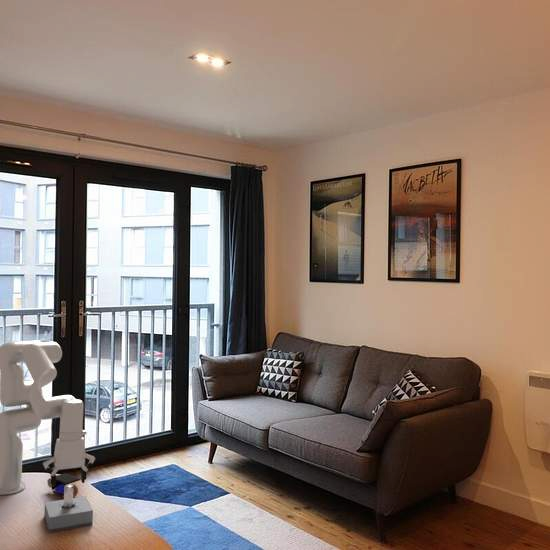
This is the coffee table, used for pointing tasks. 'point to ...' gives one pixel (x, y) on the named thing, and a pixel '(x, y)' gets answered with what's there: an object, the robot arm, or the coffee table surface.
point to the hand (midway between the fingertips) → (68, 483)
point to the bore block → (68, 514)
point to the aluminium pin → (68, 496)
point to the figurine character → (64, 483)
